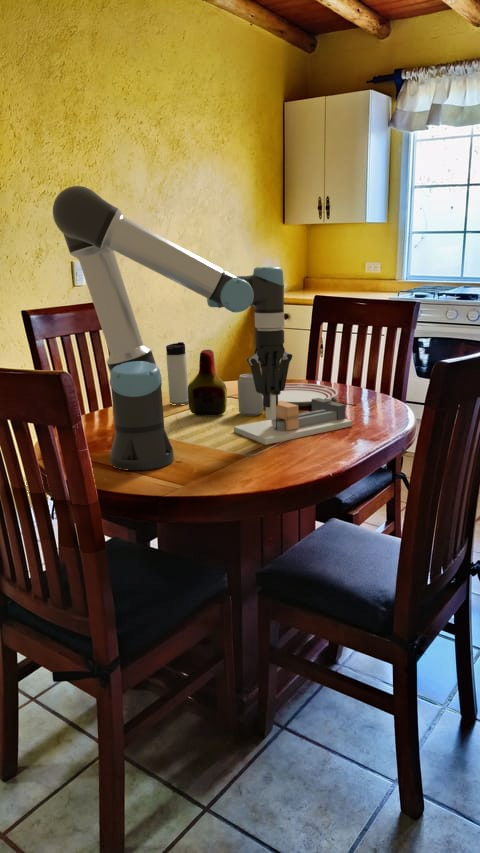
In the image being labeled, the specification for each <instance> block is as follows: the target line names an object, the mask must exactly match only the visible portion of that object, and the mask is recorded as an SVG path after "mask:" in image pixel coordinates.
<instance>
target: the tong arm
mask: <svg viewBox="0 0 480 853" xmlns="http://www.w3.org/2000/svg"><path fill="white" fill-rule="evenodd" d="M311 411H312V410H311ZM311 411H307V413H306V412H302V414H301V413H299V417H303V416H308V415H313V414H318V413H323V412H327V410H324V409H322V410H317V411H312V412H311ZM283 420H284V419H281V418H276V419H274V420H273V428H275V429H277V422H278V421H283Z"/></svg>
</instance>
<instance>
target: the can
mask: <svg viewBox="0 0 480 853" xmlns="http://www.w3.org/2000/svg"><path fill="white" fill-rule="evenodd" d="M237 396H238V397H237V398H238V399H237V400H238V401H237V403H238V412H239V413H240V414H241V415H242V416H248V417H254V416H259V415H261V413H263V411H264V405H263V394H261V393H258V392H256V388H255V384H254V379H253V375H252V373H244V374H242V373H241V374H240V375H239V378H238V379H237Z"/></svg>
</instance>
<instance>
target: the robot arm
mask: <svg viewBox="0 0 480 853" xmlns="http://www.w3.org/2000/svg"><path fill="white" fill-rule="evenodd" d="M52 218H53V221H54V223H55V225H56V227H57V229H58V230H59V231H60V232H61V233H62V234H63V237H64V240H65V242H66V245H67V248H68V252H69V255H71V256H72V257H74V258H76V259H77V260H78V262H79V264H80V267H81V270H82V273H83V276H84V279H85V282H86V286H87V288H88V291H89V294H90V297H91V300H92V304H93V306H94V309H95V312H96V315H97V318H98V322H99V324H100V326H101V327H100V328H101V330H102V334H103V335H104V340H105V342H106V345H107V348H108V352H109V357H108V359H107V361H106V365H107V367H108V370H109V374H110V377H109V386H110V391H111V399H112V400H111V401H112V408H113V410H112V411H113V421H114V438H113V443H112V446H111V451H110V454H109V455H110V456H109V458H110V465H111V464H112V465H113V466H115V467H117V468H121V469H128V470H143V471H150V470H149V469H151V470H155V468H156V469H159V468H163V467H166V466H168V465H170V464H171V463H173V462H174V461H175V457H174V456H175V455H174V449H173V446H172V443H171V442H170V438H169V436H168V434H167V431H166V430H165V428H166V427H165V421H164V419H165V418H164V405H163V393H162V392H163V391H162V389H163V388H162V387H163V386H162V384H163V382H162V375H161V370H160V367H159V366H158V365H157V364H156V361H155V357H154V355H153V351H152V349H151V348H150V347H149V346H147V345H145V344H144V343H143V340H142V339H143V338H142V336H141V333H140V330H139V327H138V324H137V320H136V317H135V313H134V311H133V307H132V305H131V302H130V299H129V296H128V292H127V289H126V286H125V282H124V279H123V276H122V274H121V270H120V267H119V264H118V261H117V258H116V255H115V252H116V253H119V254H120V255H122V256H124V257H126V258H128V259H130V260H131V261H134V262H135V263H137V264H139V265H142V266H143V267H145V268H147V269H149V270H151V271H153V272H155V273H157V274H159V275H161V276H163V277H164V278H167V279H169V280H170V281H172V282H175V283H177V284H178V285H180V286H183V287H184V288H187V289H189V290H191V291H193V293H196V294H198V295H200V296H202V297H204V298H206V302H207V305H208V307H209V308H218V309H221V308H225V309H226V310H227V311H230V312H231V313H242V312H244V311H246V310H248V309H249V308H250V307H254V328H255V329H256V330H255V331H254V343H255V346H256V347H255V350H254V354H253V355H252V356H251V357H248V358H246V362H247V363H248V365H249V366H250V371H251V374H252V375H253V379H254V384H255V388H256V392H258V393H261V394H263V408H265V419H266V420H274V419H276V406H278V395H279V394H280V393H281V392H280V391H284V389H285V384H286V382H287V380H288V379H287V377H288V374H289V373H288V371H289V368H290V367H289V366H290V362H291V360H292V359H293V354H292V353H288V352H287V351H286V350H285V346H284V344H285V330H284V329H283V328H284V327H285V281H284V271H283V269H282V268H281V267H280V266H261V267H260V266H259V267H257V266H256V267H255V268H253V273H252V275H241V276H240V275H235V274H232V273H230V272H229V271H227V270H224V269H223V268H221V267H220V266H218V265H215V264H213V263H211V262H210V261H208V260H206V259H204V258H202V257H201V256H198V255H197V254H195V253H193V252H192V251H190V250H188V249H185V248H183V247H181V246H180V245H178V244H176V243H175V242H173V241H170V240H168V239H167V238H164V237H162V236H161V235H160V234H157V233H155V232H154V231H152V230H149V229H148V228H145V227H144V226H142V225H140V224H139V223H137V222H134V221H132V220H131V219H129V218H127V217H125V216H124V215H123V214H122V211H121V209H120V208H118V207H116V206H114V205H112V204H111V203H109V202H107V201H106V200H105V199H103V198H102V197H101V196H100V195H99V194H97V193H96V192H95V191H94V190H92V189H90V188H88V187H86V186H84V185H83V186H82V185H73V186H69V187H67V188H64V189H63V190H62V191H60V192H59V194H57V196H56V197H55V199H54V202H53V205H52ZM259 363H260V364H259Z"/></svg>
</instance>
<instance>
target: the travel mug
mask: <svg viewBox="0 0 480 853" xmlns="http://www.w3.org/2000/svg"><path fill="white" fill-rule="evenodd" d="M165 350H166V355H165V356H166V367H167V384H168V396H169V398H168V399H169V404H170V403H172V404H176V405H181V404H187V403H188V404H189V402H188V385H189V382H188V371H187V368H188V367H187V356H186V354H187V353H186V344H185V342H181V341H179V342H177V343H176V342H175V343H171V344H170V343H169V344H168V345H166V346H165ZM188 404H187V405H188Z"/></svg>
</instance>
